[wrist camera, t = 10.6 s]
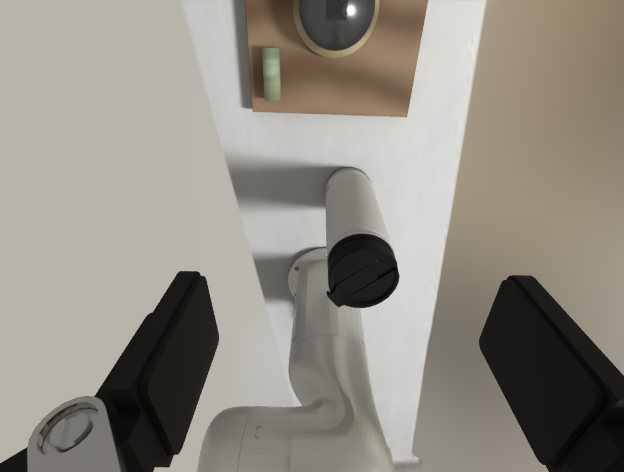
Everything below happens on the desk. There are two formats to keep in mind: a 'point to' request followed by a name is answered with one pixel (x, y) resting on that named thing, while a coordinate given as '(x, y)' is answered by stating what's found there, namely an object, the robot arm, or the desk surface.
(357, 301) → the travel mug
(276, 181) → the desk surface
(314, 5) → the grey rounded piece
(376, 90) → the base
